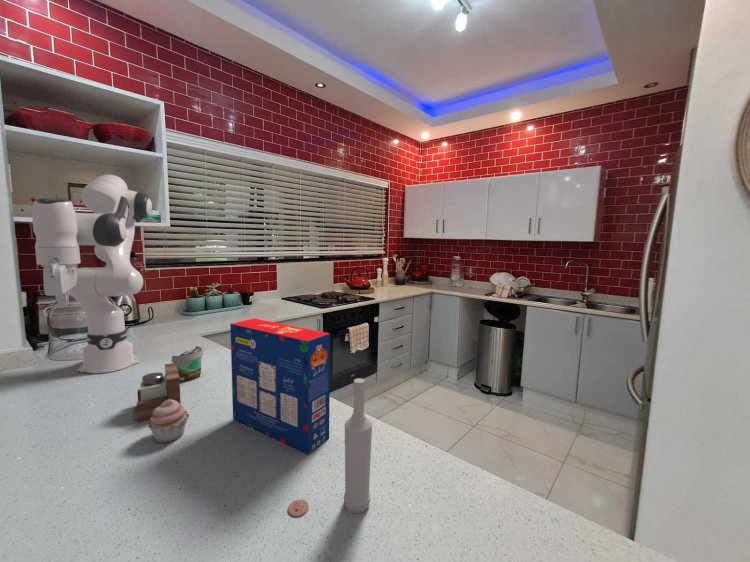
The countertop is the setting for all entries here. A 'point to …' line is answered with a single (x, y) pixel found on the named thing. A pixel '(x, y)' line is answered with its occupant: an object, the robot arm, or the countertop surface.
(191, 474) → the countertop surface
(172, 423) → the cupcake
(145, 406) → the walnut mount
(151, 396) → the sliding knob
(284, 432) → the pasta box
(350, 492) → the bottle
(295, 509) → the cookie
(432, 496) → the countertop surface
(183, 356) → the food container
